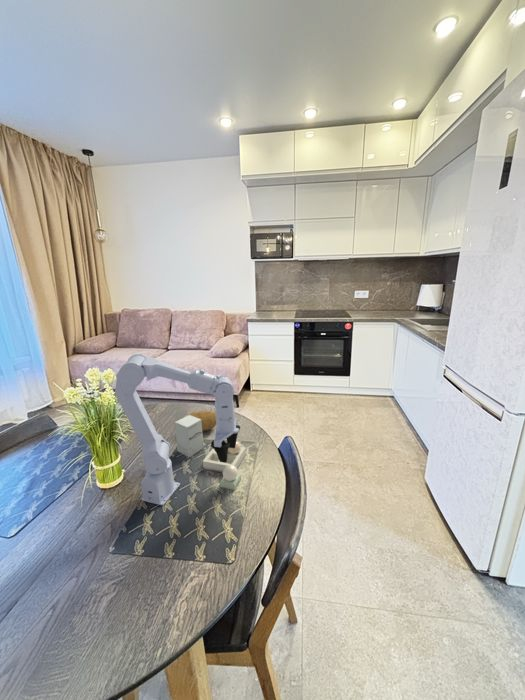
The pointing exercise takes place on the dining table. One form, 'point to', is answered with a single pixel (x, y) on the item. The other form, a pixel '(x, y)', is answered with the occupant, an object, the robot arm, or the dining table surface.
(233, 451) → the brown egg
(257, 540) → the dining table surface
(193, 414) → the potato
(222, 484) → the mint square frame
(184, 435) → the supplement box
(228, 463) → the carton
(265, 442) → the dining table surface
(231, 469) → the cream egg
